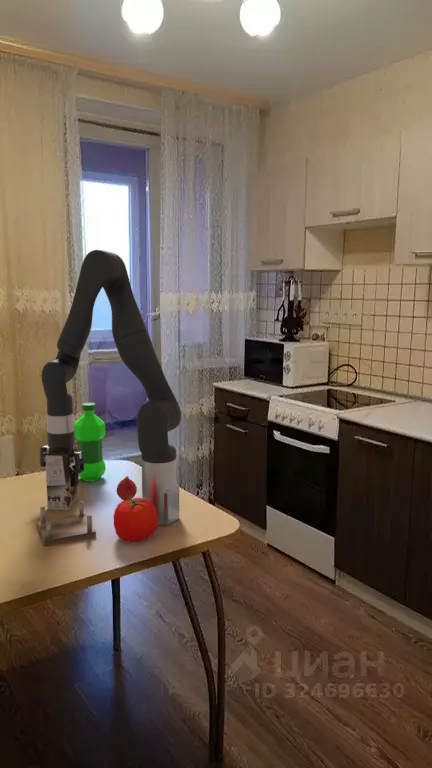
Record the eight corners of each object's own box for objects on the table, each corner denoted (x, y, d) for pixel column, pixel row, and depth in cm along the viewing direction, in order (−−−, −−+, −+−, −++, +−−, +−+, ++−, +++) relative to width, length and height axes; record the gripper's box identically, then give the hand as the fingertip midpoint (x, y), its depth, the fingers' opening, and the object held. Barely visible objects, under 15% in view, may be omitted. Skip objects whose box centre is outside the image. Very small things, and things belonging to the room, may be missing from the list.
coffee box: (69, 510, 162) (67, 455, 159) (46, 510, 162) (44, 455, 159) (79, 498, 171) (77, 446, 168) (58, 498, 171) (56, 445, 168)
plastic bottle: (75, 485, 182) (72, 408, 178) (75, 474, 192) (72, 401, 188) (107, 483, 184) (105, 406, 180) (105, 472, 194) (104, 400, 190)
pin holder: (96, 537, 145) (95, 516, 144) (44, 546, 140) (43, 524, 139) (85, 518, 157) (85, 499, 156) (37, 526, 152) (36, 506, 151)
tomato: (129, 525, 153) (128, 488, 151) (167, 533, 148) (166, 495, 146) (102, 543, 142) (101, 504, 140) (141, 553, 137) (141, 512, 136)
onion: (113, 503, 167) (112, 477, 166) (123, 497, 173) (122, 471, 171) (130, 506, 165) (130, 480, 164) (140, 500, 170) (140, 474, 169)
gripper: (89, 429, 163) (90, 484, 166) (50, 423, 169) (52, 476, 172) (71, 435, 156) (73, 492, 159) (32, 428, 162) (34, 483, 165)
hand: (62, 483), depth 166 cm, fingers closed on coffee box, 8 cm apart
